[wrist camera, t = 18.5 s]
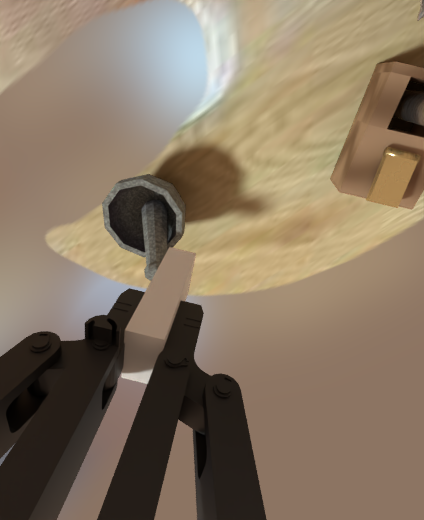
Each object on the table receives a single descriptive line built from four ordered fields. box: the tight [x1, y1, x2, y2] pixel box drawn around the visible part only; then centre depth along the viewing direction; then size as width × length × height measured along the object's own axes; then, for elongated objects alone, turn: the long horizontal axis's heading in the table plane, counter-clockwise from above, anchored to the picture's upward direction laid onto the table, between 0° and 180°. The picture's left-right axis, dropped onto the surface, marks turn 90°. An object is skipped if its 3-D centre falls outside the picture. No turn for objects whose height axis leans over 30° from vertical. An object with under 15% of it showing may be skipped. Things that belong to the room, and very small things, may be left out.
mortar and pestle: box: [102, 174, 186, 281], centre depth 37 cm, size 11×9×12 cm
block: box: [330, 61, 424, 209], centre depth 32 cm, size 12×8×5 cm, turn 168°
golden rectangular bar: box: [366, 147, 421, 208], centre depth 31 cm, size 5×3×1 cm, turn 169°
